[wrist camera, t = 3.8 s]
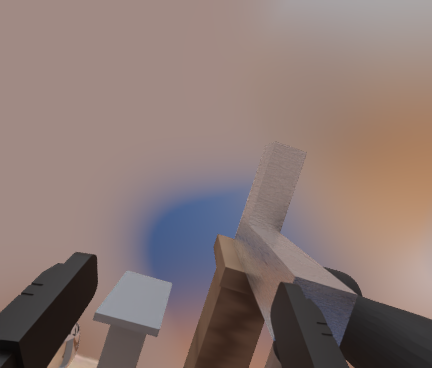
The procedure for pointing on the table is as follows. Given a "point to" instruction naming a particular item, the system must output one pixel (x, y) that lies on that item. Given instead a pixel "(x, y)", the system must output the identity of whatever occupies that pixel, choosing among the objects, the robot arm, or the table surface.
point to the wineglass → (67, 349)
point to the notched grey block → (284, 244)
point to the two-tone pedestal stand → (226, 316)
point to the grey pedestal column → (131, 318)
